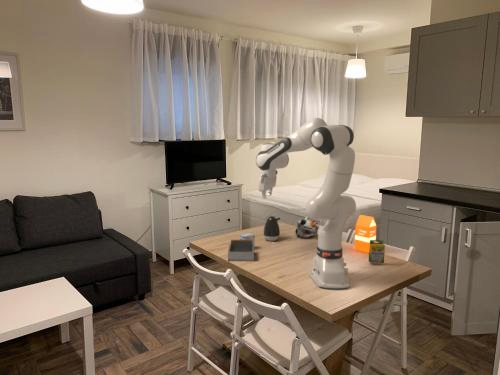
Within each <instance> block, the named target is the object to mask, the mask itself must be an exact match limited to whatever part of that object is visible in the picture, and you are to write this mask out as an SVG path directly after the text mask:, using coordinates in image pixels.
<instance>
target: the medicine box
mask: <svg viewBox="0 0 500 375" xmlns="http://www.w3.org/2000/svg"><path fill="white" fill-rule="evenodd" d="M255 238H256V237H255V234H254V233H250V232H248V233H244V234H241V235H239V240H252V245H254V249H255V248H256V247H255V242H256V240H255Z"/></svg>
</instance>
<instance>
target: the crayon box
mask: <svg viewBox="0 0 500 375" xmlns="http://www.w3.org/2000/svg"><path fill="white" fill-rule="evenodd" d="M374 241H375V243H374ZM385 250H386V244H384V240H383V239H380V240H378V239H376V240H370V247H369V253H368V262H369V263H370V264H385Z"/></svg>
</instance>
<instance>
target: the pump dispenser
mask: <svg viewBox="0 0 500 375" xmlns="http://www.w3.org/2000/svg"><path fill="white" fill-rule="evenodd" d="M279 220H281V217H278V218H277V217H275V216H272V215H271V216H269V217H268V218H266V222H265V223H264V228H263V236H264V239H265V240H267V241H269V242H275V241H277V240H278V239H279V237H280V234H281V233H280V232H281V230H280V225H279V222H278V221H279Z"/></svg>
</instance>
